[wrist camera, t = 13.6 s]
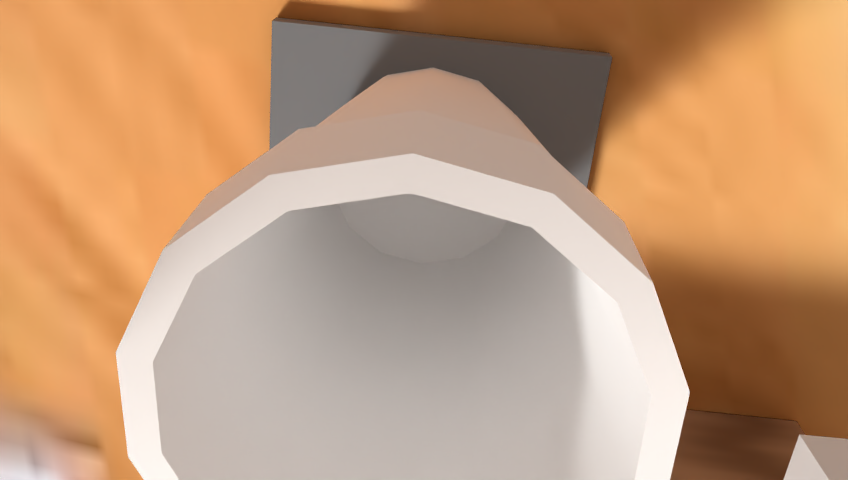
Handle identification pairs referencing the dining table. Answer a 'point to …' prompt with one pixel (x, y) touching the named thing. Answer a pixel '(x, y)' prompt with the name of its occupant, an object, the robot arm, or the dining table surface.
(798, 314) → the dining table surface
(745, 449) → the crate
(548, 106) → the mat
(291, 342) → the foam cup
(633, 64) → the dining table surface
